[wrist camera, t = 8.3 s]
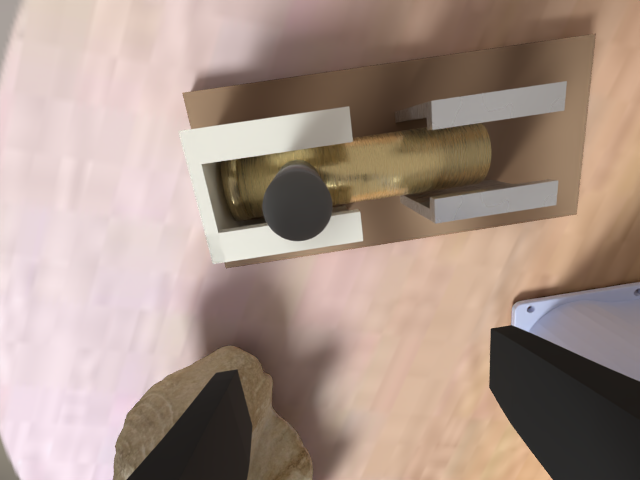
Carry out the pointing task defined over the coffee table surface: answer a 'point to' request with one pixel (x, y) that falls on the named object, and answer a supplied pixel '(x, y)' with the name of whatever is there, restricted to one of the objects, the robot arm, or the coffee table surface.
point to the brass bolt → (351, 175)
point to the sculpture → (180, 391)
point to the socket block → (254, 140)
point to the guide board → (443, 112)
